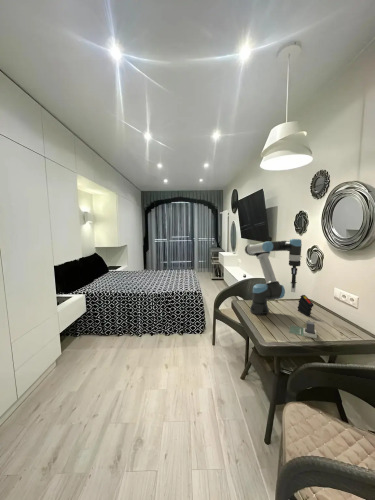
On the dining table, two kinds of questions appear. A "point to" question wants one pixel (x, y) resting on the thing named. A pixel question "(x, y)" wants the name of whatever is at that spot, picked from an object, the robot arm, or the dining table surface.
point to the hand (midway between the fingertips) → (293, 291)
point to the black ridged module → (305, 305)
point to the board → (302, 332)
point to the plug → (310, 327)
